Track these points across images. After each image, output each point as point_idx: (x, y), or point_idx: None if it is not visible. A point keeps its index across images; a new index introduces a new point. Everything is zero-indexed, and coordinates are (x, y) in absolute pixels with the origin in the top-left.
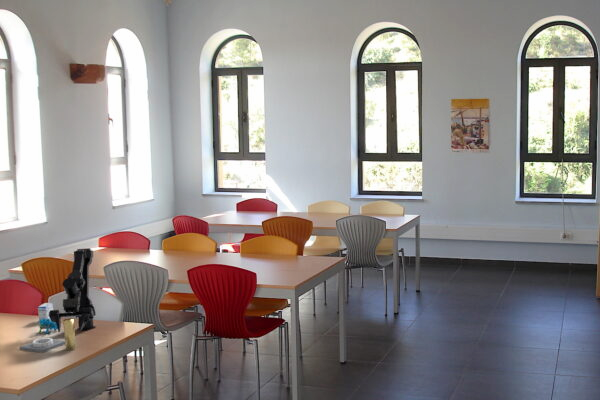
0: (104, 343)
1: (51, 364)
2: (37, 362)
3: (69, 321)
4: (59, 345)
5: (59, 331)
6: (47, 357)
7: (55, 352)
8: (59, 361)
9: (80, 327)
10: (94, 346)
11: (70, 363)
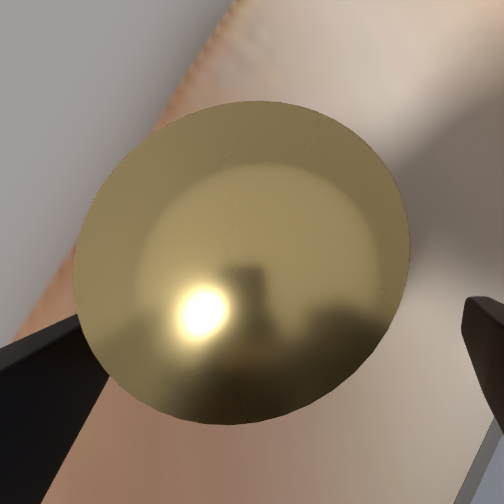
0: None
1: (343, 16)
2: (465, 46)
3: (190, 128)
4: (467, 486)
5: (464, 319)
6: (435, 138)
7: (418, 256)
8: (307, 59)
9: None
10: None
11: (231, 30)
